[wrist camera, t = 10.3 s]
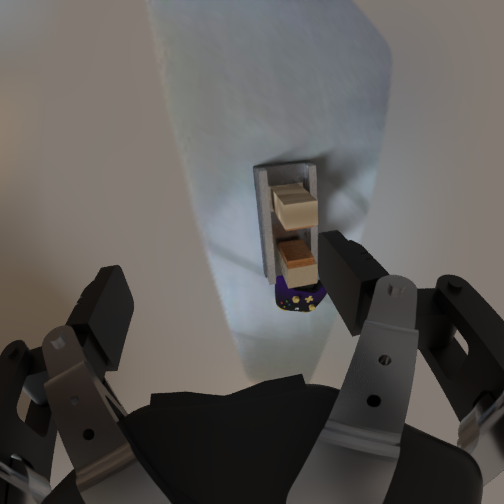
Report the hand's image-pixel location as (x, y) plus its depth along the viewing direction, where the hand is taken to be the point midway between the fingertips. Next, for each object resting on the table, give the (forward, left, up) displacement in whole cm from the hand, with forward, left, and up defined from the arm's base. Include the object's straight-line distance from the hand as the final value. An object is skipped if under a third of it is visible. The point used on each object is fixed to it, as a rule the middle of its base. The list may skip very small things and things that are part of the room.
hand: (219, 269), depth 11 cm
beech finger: (+7, +9, -26) cm, 29 cm away
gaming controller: (+24, +11, -29) cm, 39 cm away
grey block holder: (+11, +9, -28) cm, 31 cm away
